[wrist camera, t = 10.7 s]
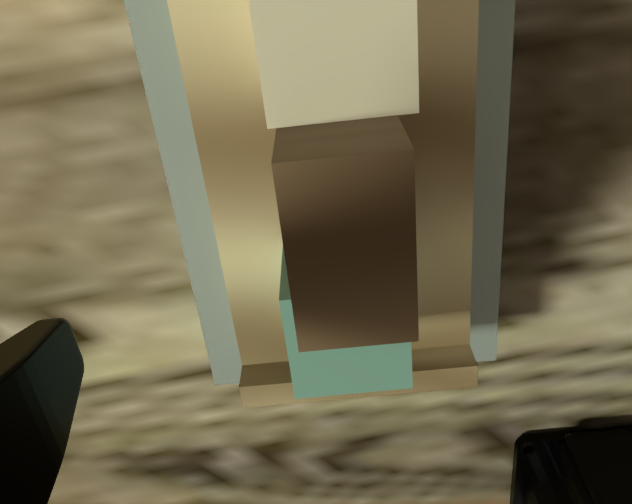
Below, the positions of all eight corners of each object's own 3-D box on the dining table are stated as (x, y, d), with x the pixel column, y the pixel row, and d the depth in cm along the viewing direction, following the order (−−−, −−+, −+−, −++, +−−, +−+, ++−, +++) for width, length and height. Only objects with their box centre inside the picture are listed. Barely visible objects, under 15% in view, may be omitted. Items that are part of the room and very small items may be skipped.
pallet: (454, 327, 20) (519, 500, 14) (251, 346, 21) (228, 524, 14) (461, -171, 14) (589, -253, 7) (158, -135, 14) (41, -183, 8)
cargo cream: (398, 78, 14) (419, 113, 12) (274, 92, 14) (267, 129, 12) (392, -63, 13) (415, -60, 10) (255, -46, 13) (242, -40, 10)
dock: (477, 319, 23) (495, 360, 21) (223, 342, 24) (215, 385, 21) (497, -232, 15) (529, -259, 13) (108, -184, 15) (76, -202, 13)
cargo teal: (396, 319, 18) (413, 388, 15) (296, 329, 18) (294, 398, 15) (392, 229, 16) (409, 287, 14) (283, 240, 16) (279, 300, 14)
